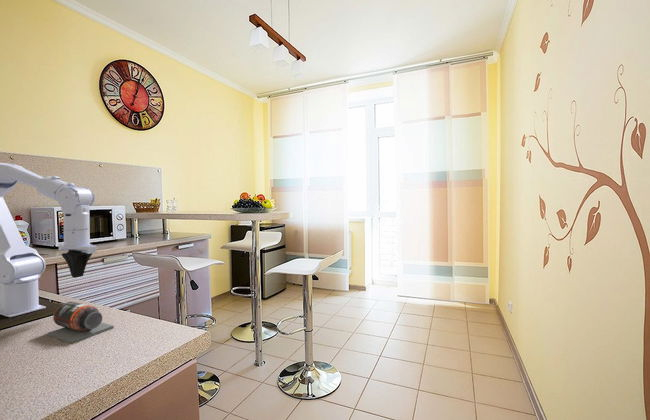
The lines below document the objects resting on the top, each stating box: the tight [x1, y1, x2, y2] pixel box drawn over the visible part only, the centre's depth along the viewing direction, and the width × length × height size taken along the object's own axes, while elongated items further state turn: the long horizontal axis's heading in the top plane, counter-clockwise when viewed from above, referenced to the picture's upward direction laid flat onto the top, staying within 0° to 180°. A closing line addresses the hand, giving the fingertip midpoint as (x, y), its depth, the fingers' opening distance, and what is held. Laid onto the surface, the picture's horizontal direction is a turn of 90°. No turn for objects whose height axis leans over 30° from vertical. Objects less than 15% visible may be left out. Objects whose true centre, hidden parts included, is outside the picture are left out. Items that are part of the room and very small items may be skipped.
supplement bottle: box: [52, 301, 103, 331], centre depth 73 cm, size 6×6×11 cm
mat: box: [47, 322, 115, 344], centre depth 73 cm, size 10×9×1 cm
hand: (77, 276), depth 85 cm, fingers closed
